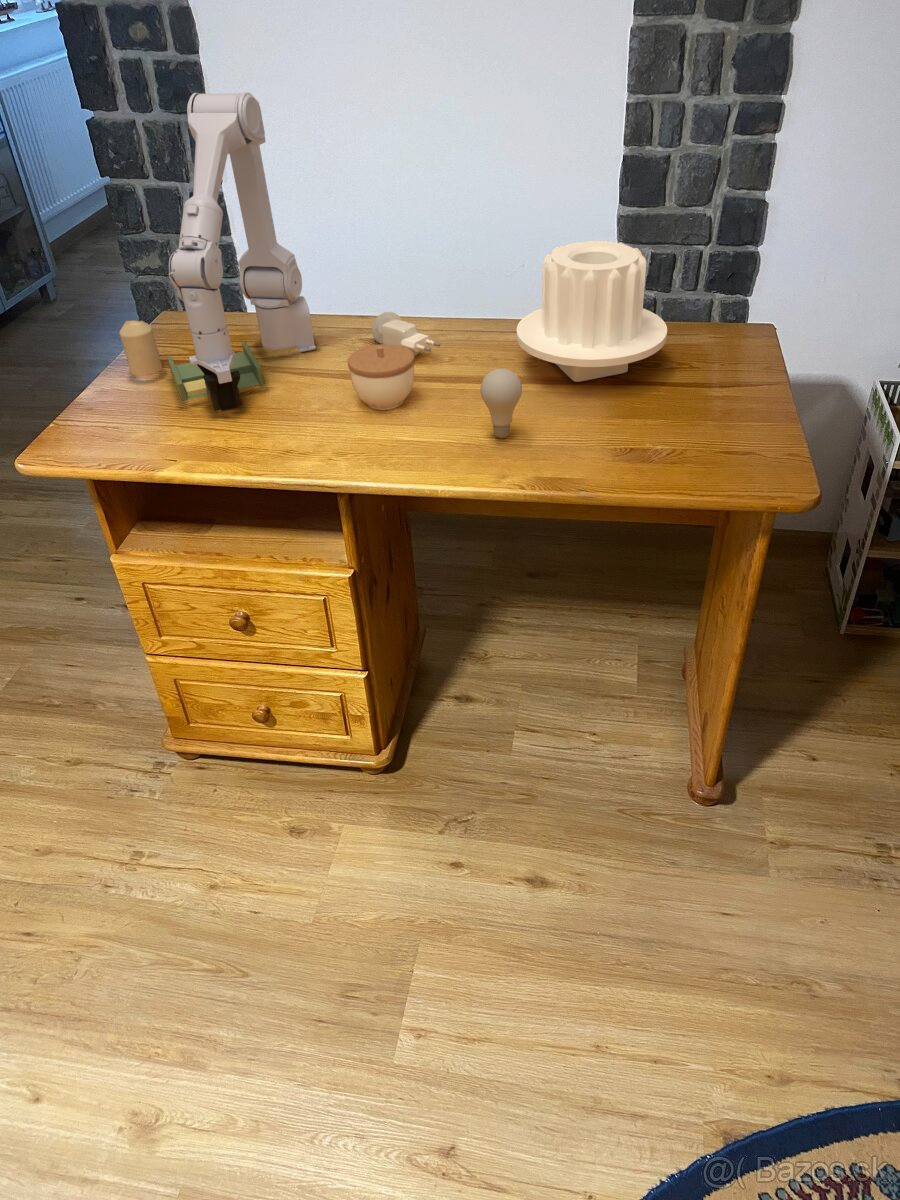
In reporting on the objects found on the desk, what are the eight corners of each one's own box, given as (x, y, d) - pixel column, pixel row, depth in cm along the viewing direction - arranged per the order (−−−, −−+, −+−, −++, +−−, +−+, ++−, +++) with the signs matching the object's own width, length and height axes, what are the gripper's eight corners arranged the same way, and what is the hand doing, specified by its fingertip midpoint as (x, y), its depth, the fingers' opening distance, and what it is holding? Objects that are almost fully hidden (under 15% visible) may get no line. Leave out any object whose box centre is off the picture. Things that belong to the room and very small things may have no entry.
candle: (168, 369, 165) (154, 315, 159) (157, 382, 161) (142, 327, 154) (139, 369, 166) (124, 315, 159) (127, 382, 161) (112, 328, 155)
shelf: (250, 364, 165) (246, 341, 162) (265, 390, 156) (261, 367, 153) (172, 380, 161) (167, 357, 159) (183, 407, 152) (177, 384, 150)
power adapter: (445, 360, 162) (443, 329, 158) (427, 370, 159) (424, 338, 155) (398, 346, 168) (396, 315, 164) (380, 355, 165) (377, 324, 161)
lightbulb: (509, 451, 136) (509, 382, 129) (474, 441, 138) (472, 374, 131) (529, 433, 139) (529, 366, 133) (494, 424, 142) (493, 358, 135)
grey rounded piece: (409, 316, 172) (400, 307, 167) (410, 348, 171) (401, 341, 167) (378, 320, 173) (369, 311, 168) (379, 352, 173) (370, 344, 168)
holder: (237, 400, 153) (232, 376, 151) (243, 412, 150) (237, 386, 147) (210, 406, 152) (204, 381, 149) (215, 418, 149) (209, 392, 146)
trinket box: (428, 392, 152) (424, 338, 146) (399, 421, 145) (393, 365, 139) (372, 383, 156) (366, 330, 150) (341, 410, 149) (333, 356, 143)
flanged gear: (621, 328, 169) (629, 222, 157) (690, 382, 150) (705, 266, 138) (496, 351, 164) (494, 244, 152) (551, 410, 145) (553, 293, 133)
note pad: (206, 383, 156) (205, 378, 156) (210, 392, 153) (209, 387, 153) (184, 388, 155) (182, 382, 155) (187, 397, 152) (186, 391, 152)
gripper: (175, 316, 147) (194, 394, 155) (190, 349, 136) (210, 430, 144) (219, 308, 149) (235, 385, 157) (237, 339, 138) (253, 420, 146)
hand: (226, 406), depth 151 cm, fingers closed on holder, 4 cm apart
